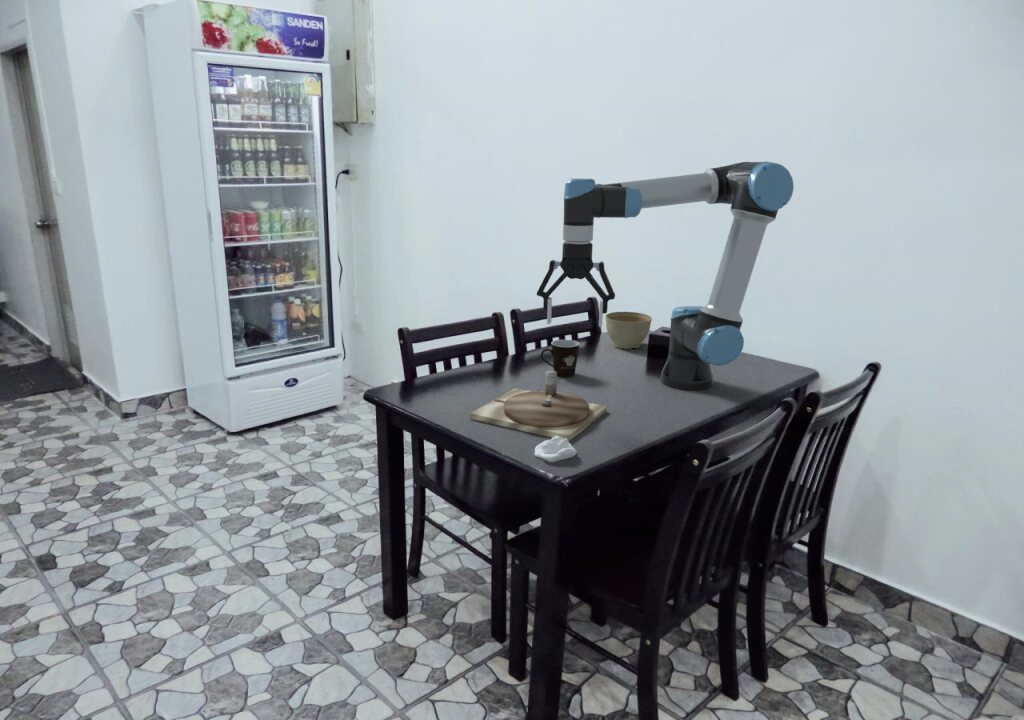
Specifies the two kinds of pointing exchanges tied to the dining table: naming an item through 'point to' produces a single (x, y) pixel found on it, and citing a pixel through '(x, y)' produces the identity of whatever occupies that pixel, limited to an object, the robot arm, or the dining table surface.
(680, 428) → the dining table surface
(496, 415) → the dial board
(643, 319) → the planter bowl
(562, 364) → the coffee mug
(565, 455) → the crumpled white cloth
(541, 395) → the wheel
